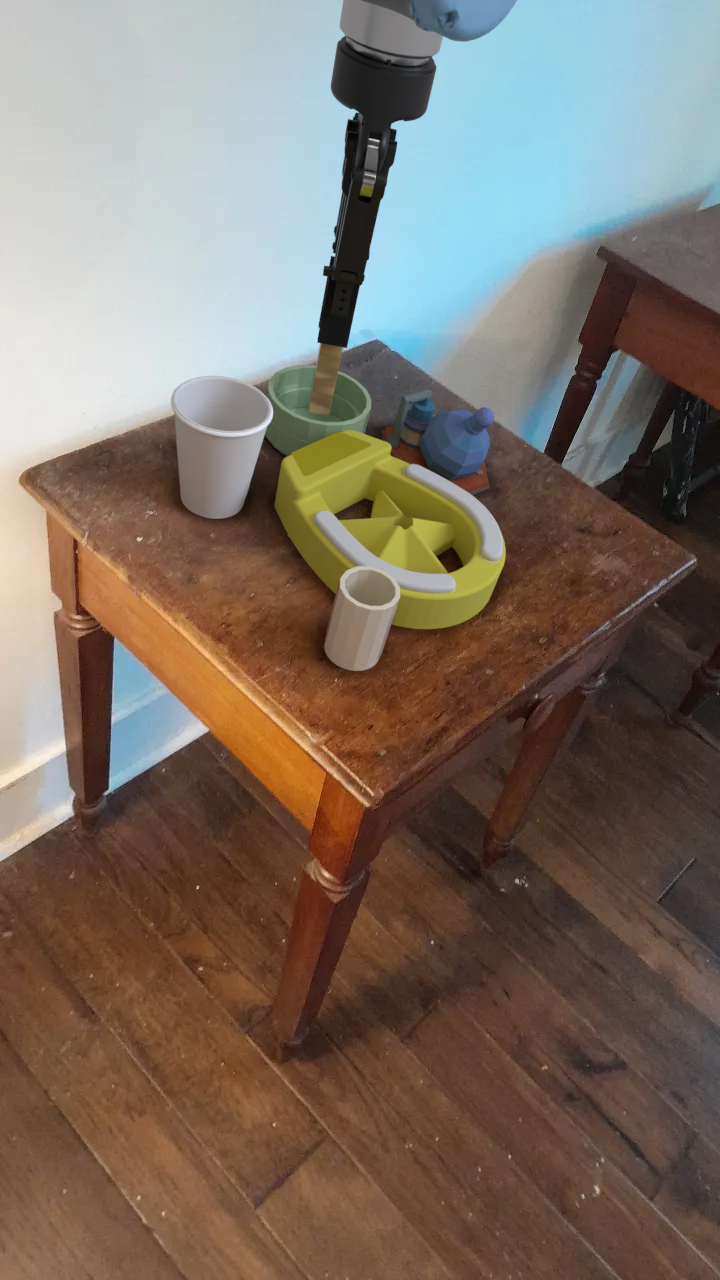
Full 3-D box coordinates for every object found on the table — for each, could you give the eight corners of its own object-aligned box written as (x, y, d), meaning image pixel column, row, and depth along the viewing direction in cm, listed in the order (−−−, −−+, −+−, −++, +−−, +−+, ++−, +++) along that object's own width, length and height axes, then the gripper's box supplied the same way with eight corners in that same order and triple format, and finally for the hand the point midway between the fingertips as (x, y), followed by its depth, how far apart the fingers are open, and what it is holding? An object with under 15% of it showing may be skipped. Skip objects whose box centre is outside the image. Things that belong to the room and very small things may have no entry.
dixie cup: (268, 483, 88) (283, 390, 81) (245, 539, 82) (259, 444, 75) (181, 459, 88) (188, 364, 80) (152, 513, 82) (157, 416, 75)
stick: (308, 413, 91) (338, 253, 80) (309, 401, 92) (338, 242, 81) (328, 416, 91) (361, 257, 80) (329, 405, 93) (361, 247, 81)
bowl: (257, 458, 90) (264, 413, 86) (265, 400, 97) (272, 356, 93) (360, 475, 91) (371, 432, 88) (361, 417, 98) (371, 375, 95)
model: (505, 484, 95) (535, 406, 89) (437, 508, 90) (464, 427, 84) (429, 418, 101) (453, 340, 94) (362, 437, 96) (382, 356, 89)
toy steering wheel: (365, 457, 94) (375, 414, 90) (528, 577, 86) (547, 536, 82) (241, 517, 84) (247, 472, 80) (413, 658, 76) (429, 616, 73)
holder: (322, 667, 74) (339, 604, 69) (324, 624, 77) (340, 561, 72) (380, 675, 74) (400, 613, 69) (380, 632, 77) (399, 570, 72)
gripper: (443, 91, 65) (372, 387, 82) (433, 29, 75) (372, 303, 92) (335, 67, 64) (286, 372, 81) (340, 7, 74) (296, 288, 91)
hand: (332, 335), depth 86 cm, fingers closed on stick, 2 cm apart
